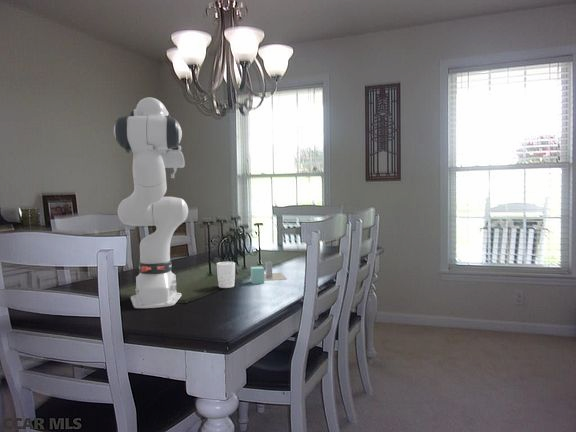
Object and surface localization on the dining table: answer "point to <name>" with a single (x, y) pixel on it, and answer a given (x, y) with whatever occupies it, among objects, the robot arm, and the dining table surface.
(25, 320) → the dining table surface
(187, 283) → the dining table surface
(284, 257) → the dining table surface
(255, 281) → the teal upright block
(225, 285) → the white cup
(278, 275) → the post
